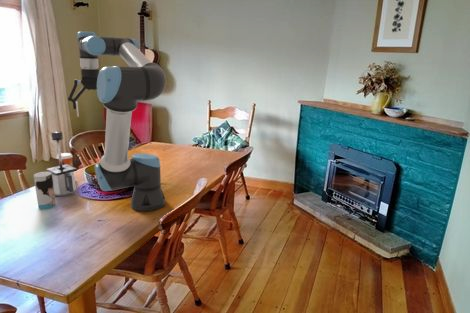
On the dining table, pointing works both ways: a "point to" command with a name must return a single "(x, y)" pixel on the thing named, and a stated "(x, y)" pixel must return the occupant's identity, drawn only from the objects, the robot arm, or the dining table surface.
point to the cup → (45, 190)
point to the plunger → (58, 145)
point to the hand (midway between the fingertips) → (94, 115)
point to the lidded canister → (63, 180)
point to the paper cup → (65, 159)
